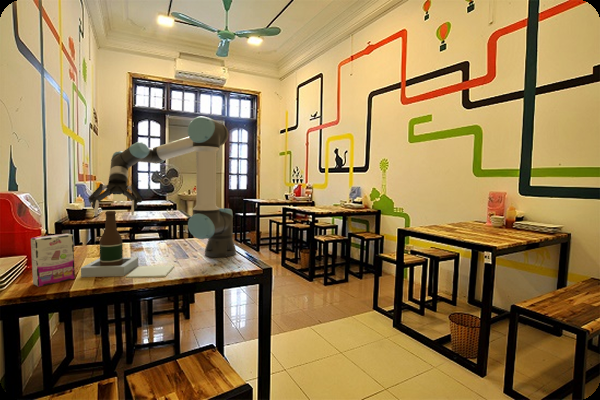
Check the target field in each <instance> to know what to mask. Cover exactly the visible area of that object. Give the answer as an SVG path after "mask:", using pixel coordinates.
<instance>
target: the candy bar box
mask: <svg viewBox="0 0 600 400" xmlns="http://www.w3.org/2000/svg"><path fill="white" fill-rule="evenodd" d="M74 247H75V245H74V234H73V233H72V234H71V233H61V234H60V233H59V234H54V235H53V234H52V235H45V236H38V237H31V238H30V249H31V250H30V251H31V270H32V285H34V286H36V287H45V286H47V285H53V284H56V283H61V282H66V281H70V280H73V279H76V271H75V270H76V269H75V249H74Z"/></svg>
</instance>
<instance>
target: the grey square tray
mask: <svg viewBox="0 0 600 400" xmlns="http://www.w3.org/2000/svg"><path fill="white" fill-rule="evenodd" d="M137 267H139V257H138V256H136V257H135V256H134V257H132V256H131V257H128V256H125V257H123V264H122V265H121V266H100V257H99V258H97V259H95V260H93V261H91V262H90V263H87V264H86V265H84V266H81V268H80V278H93V277H94V278H95V277H98V278H99V277H102V278H103V277H126V276H127V275H128V274H130V273H131V272H132V271H133V270H135V269H136V268H137Z"/></svg>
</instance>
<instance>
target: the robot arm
mask: <svg viewBox="0 0 600 400" xmlns="http://www.w3.org/2000/svg"><path fill="white" fill-rule="evenodd" d="M228 139H229V131H228V128H227V127H226V125H225V124H223V123H222V122H220V121H217V120H214V119H212V118H211V117H208V116H207V117H206V116H196V117H194V118H193V119H192V120H191V121H190V122H189V124H188V126H187V137H183V138H180V139H177V140H174V141H170V142H167V143H165V144H160V145H158V146H155V147H149V146H148V145H146V144H145V143H143V142H142V141H137V142H135V143H133V144H131V145H130V146H129V147H127V148H126V149H124V151H120V150H119V151H115V152H114V153H113V154H112V156H111V159H110V168H109V169H110V170H109V176H108V183H107V184H103V183H100V184H99V186H98V187H97V188H96V189H95V190H94V192H92V193H91V194H90V195H89V196H88V202H89V203H90V204H91V203H92V205H91V207H92V209H93V213H94V216H95V217H98V212H99V205H100V203H99V202H101V201H103V200H104V199H106V198H107V197H108V196H111V195H123V196H124V197H126V198H128V200H130V201H131V209H130V211H131V212H130V213H131V216H134V215H135V214H134V213H135V210H137V208H138V203H142V202H143V201H142V200H143V199H142V196H141V195H140V193H139V192H138V191H137V189H136V188H135V184H134V183H132V184H131V185H128V177H129V169H130V168H131V167H132V166H134V165H136V164H137V163H138V162H139V163H150V164H162V163H164V161H167V160H169V159H173V158H176V157H180V156H184V155H186V154H190V153H193V152H195V155H196V158H195V160H196V161H195V163H196V164H195V165H196V166H195V167H196V172H195V173H196V177H195V178H196V179H195V180H196V181H195V184H196V187H195V188H196V190H195V191H196V195H195V196H196V203H195V206H194V207H193V208H192V215H191V217H190V218H189V219H188V221H187V227H188V228H187V229H188V231H189V233H190V235H192V236H193V237H194V238H196V239H199V240H207V243H206V246H205V249H204V256H206V257H210V258H225V257H231V256H235V255H236V254H237V253H236V252H237V248H236V246H235V241H234V239H233V228H234V227H233V226H234V225H233V223H234V222H233V220H234V219H233V218H234V215H233V210H232V209H231V208H224V207H223V208H221V207H219V206H217V152H218V151H219V150H220V148H221V146H223V145H224V144H226V142H227V141H228ZM128 190H129V191H130V192H132V193H130V192H129V191H128Z"/></svg>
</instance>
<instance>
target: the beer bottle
mask: <svg viewBox="0 0 600 400" xmlns="http://www.w3.org/2000/svg"><path fill="white" fill-rule="evenodd" d="M104 215H105V225H104V226H105V227H104V232H103V233H102V235H101V236H100V239H99V258H100V266H121V265H122V264H123V258H124V257H123V254H124V252H123V239H122V238H123V237H122V235H121V234H120V232H119V231H118V229H117V219H116V215H117V211H115V210H107V211H105V214H104Z"/></svg>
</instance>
